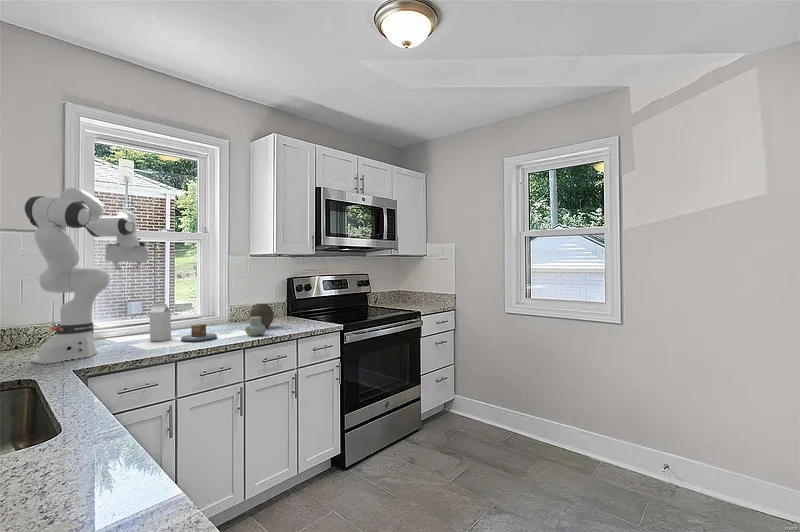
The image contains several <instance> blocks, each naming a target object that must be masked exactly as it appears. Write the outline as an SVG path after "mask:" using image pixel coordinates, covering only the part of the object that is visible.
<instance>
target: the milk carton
mask: <svg viewBox="0 0 800 532" xmlns="http://www.w3.org/2000/svg"><path fill="white" fill-rule="evenodd" d="M148 313H149V341H150V342H164V341H167V340H170V338H171V339H172V324H171V323H172V320H171V319H172V318H171V317H172V316H171V315H172V314H171V310H170V308H169V307H168V303H154V304H153V305H152V307H151V309H150V311H149V312H148Z"/></svg>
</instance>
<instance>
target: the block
mask: <svg viewBox="0 0 800 532" xmlns="http://www.w3.org/2000/svg"><path fill="white" fill-rule="evenodd" d="M190 327H191V329H190V330H191V333H190V335H192V337H203V336H206V333H207V324H206V323H205V324H204V323H198V324H192V325H190Z"/></svg>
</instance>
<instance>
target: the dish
mask: <svg viewBox="0 0 800 532" xmlns="http://www.w3.org/2000/svg"><path fill="white" fill-rule="evenodd" d="M216 338H217V334H216V333H210V332H209V333H208V332H206V336H203V337H192V334H186V335H183V336H181V337H180V340H181V341H182V342H203V341H202V340H205V341H207V340H208V341H209V340H213V339H216Z"/></svg>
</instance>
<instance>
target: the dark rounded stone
mask: <svg viewBox="0 0 800 532" xmlns="http://www.w3.org/2000/svg"><path fill="white" fill-rule="evenodd" d="M250 317H261V324H262V325H264V326H265V327H266V329H268V328H269V327H270V326H271V325H272V324H273V323H272V322H273V320H274V317H275V316H274V311H273V309H272V307H271V306H270V304H268V303H257V304H254V305H253V306H252V308H251V310H250V311H249V318H250Z"/></svg>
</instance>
